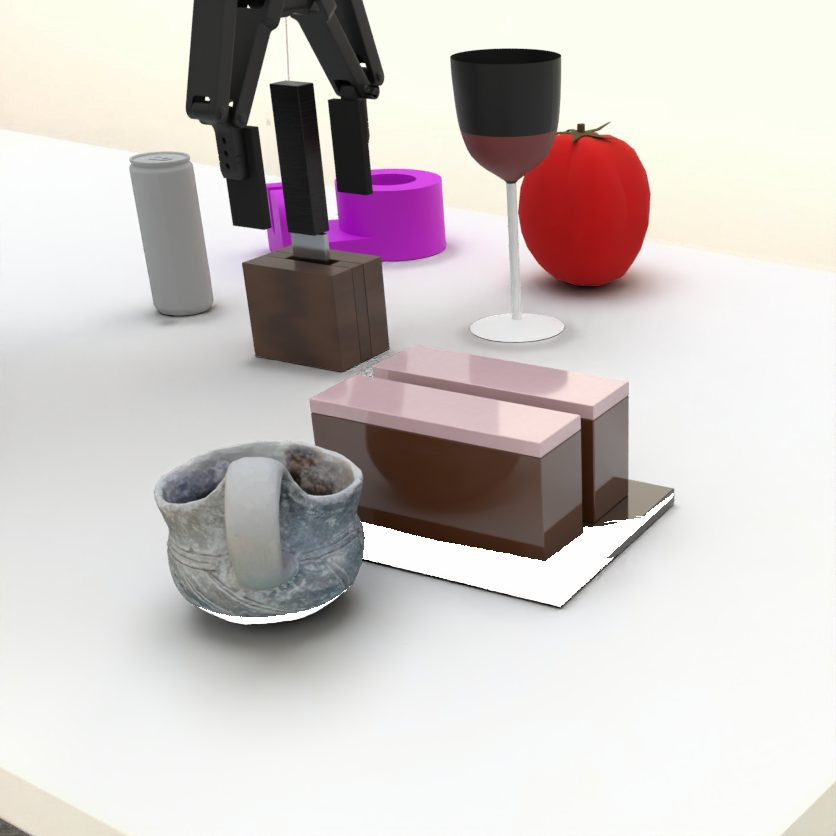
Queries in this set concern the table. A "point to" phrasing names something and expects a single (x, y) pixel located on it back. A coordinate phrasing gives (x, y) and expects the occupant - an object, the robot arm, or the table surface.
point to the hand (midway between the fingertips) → (306, 209)
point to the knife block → (317, 308)
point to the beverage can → (171, 232)
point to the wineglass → (509, 149)
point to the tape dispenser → (378, 217)
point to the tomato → (586, 208)
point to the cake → (486, 450)
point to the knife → (301, 169)
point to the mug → (263, 527)
